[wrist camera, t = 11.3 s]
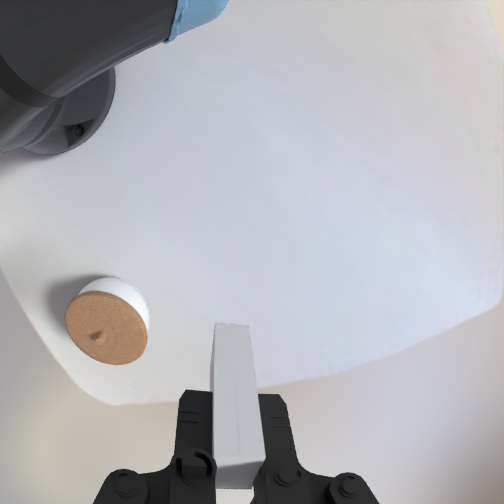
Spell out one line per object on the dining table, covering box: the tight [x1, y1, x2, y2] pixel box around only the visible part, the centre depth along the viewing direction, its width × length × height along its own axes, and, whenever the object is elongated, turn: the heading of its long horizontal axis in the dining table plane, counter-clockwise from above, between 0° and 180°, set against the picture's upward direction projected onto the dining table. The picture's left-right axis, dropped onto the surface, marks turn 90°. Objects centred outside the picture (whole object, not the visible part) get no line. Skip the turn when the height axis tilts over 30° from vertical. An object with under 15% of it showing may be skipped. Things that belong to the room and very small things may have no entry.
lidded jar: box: [65, 277, 150, 365], centre depth 36 cm, size 11×11×9 cm
